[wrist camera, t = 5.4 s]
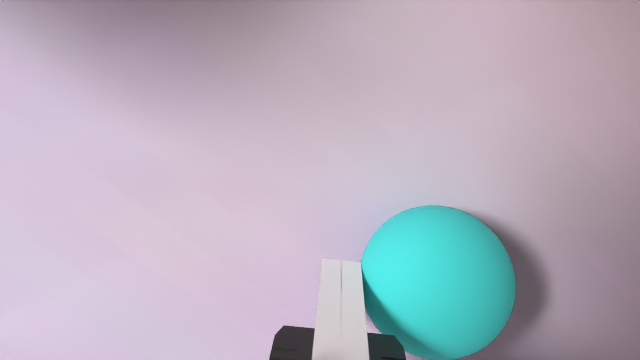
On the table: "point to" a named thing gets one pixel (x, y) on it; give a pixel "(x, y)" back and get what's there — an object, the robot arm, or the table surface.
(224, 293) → the table surface
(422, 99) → the table surface
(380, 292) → the ball
